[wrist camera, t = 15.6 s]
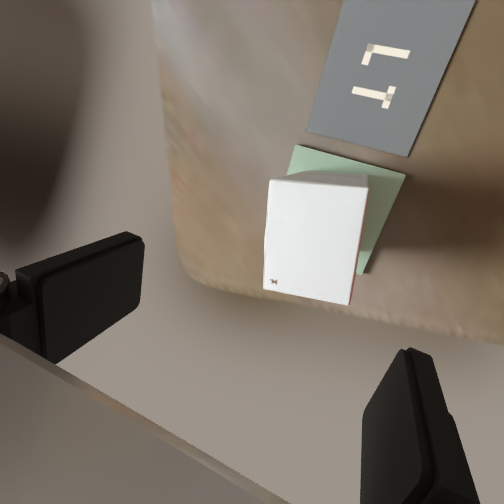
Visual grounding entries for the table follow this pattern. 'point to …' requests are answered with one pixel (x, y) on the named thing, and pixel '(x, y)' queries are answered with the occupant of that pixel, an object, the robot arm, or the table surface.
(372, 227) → the sage board
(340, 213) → the small box
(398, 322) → the table surface
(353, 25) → the slate tile
